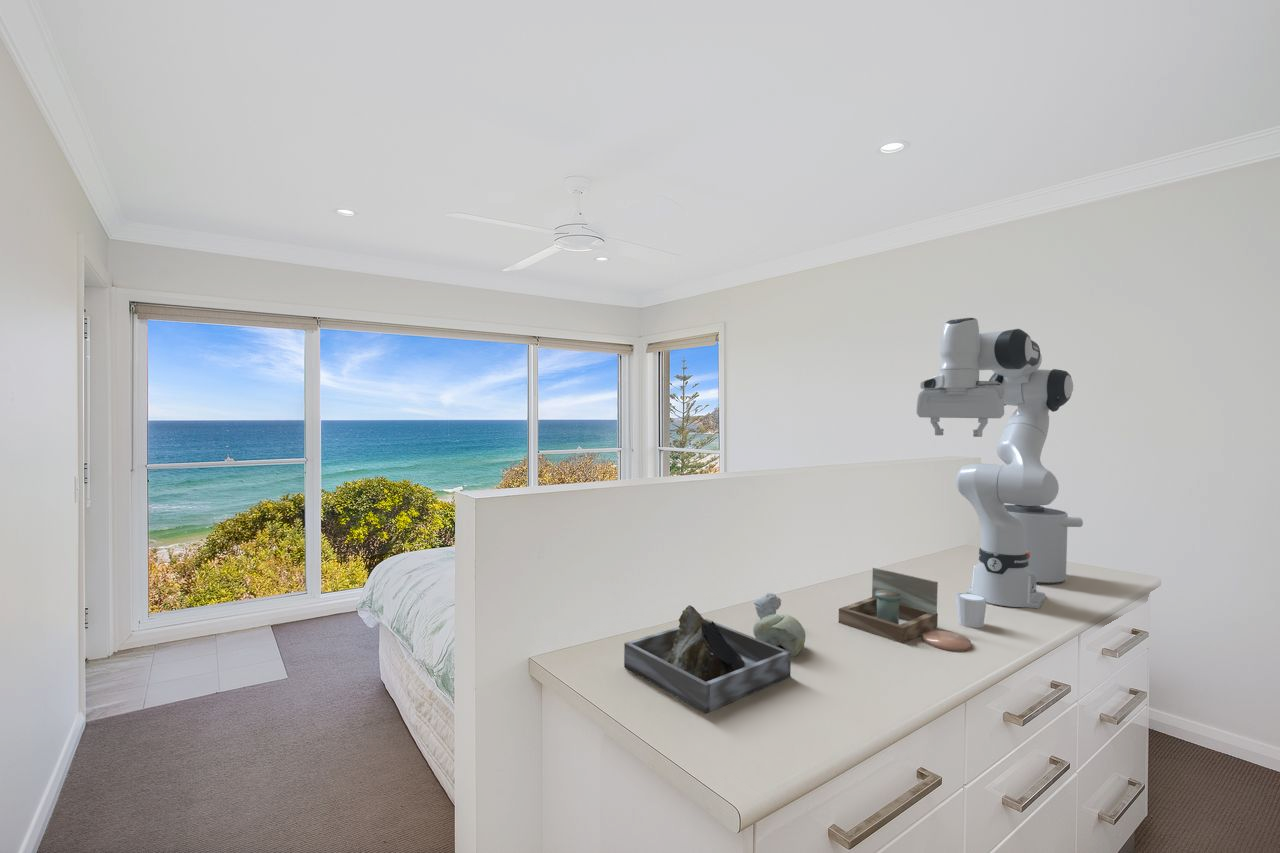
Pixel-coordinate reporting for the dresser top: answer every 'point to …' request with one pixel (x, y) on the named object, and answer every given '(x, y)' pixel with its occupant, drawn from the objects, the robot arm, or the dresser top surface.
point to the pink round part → (946, 640)
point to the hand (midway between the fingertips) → (957, 436)
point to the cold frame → (913, 607)
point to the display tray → (758, 673)
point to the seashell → (781, 632)
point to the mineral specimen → (702, 648)
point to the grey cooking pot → (1045, 540)
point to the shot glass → (971, 609)
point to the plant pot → (888, 605)
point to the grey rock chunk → (767, 605)
